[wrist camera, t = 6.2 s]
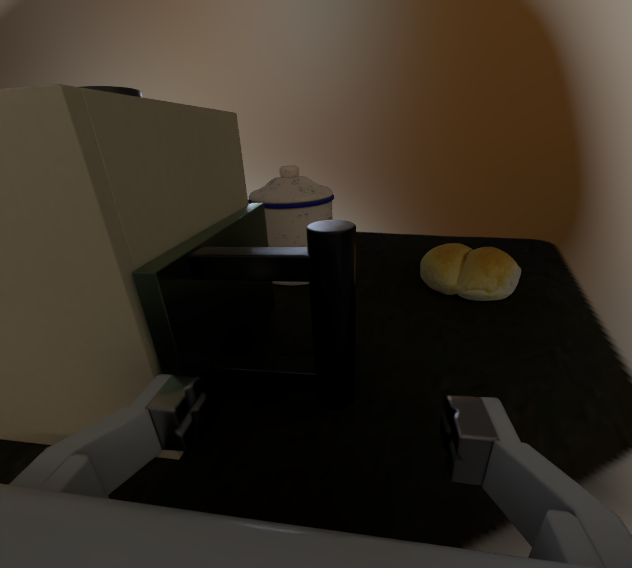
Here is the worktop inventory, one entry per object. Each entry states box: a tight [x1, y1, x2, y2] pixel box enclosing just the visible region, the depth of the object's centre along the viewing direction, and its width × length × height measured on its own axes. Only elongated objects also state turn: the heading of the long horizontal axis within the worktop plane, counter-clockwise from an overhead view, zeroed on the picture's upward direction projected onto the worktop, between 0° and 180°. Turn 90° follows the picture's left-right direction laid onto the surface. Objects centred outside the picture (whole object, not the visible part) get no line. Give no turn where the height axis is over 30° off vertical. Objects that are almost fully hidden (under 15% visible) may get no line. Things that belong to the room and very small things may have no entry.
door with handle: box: [132, 203, 356, 443], centre depth 20 cm, size 21×14×10 cm, turn 81°
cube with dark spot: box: [0, 84, 248, 459], centre depth 20 cm, size 14×14×17 cm
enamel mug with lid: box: [248, 166, 334, 286], centre depth 37 cm, size 12×9×12 cm
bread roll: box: [420, 243, 521, 301], centre depth 32 cm, size 8×9×4 cm
